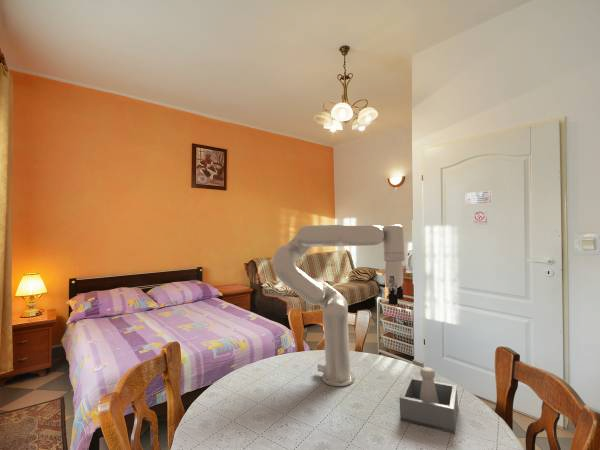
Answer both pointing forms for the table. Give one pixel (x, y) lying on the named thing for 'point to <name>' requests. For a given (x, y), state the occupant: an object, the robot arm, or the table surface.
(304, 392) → the table surface
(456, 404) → the bin
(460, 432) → the table surface
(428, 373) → the salt shaker
